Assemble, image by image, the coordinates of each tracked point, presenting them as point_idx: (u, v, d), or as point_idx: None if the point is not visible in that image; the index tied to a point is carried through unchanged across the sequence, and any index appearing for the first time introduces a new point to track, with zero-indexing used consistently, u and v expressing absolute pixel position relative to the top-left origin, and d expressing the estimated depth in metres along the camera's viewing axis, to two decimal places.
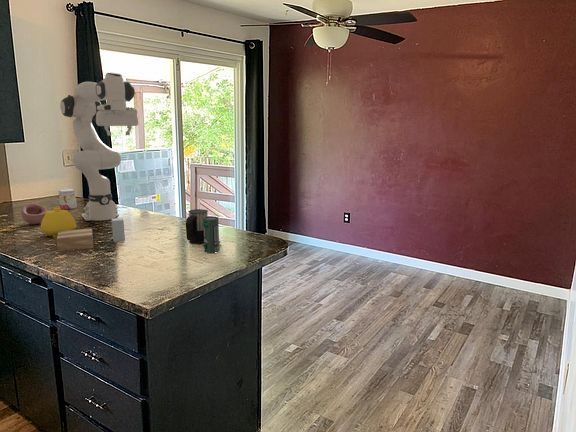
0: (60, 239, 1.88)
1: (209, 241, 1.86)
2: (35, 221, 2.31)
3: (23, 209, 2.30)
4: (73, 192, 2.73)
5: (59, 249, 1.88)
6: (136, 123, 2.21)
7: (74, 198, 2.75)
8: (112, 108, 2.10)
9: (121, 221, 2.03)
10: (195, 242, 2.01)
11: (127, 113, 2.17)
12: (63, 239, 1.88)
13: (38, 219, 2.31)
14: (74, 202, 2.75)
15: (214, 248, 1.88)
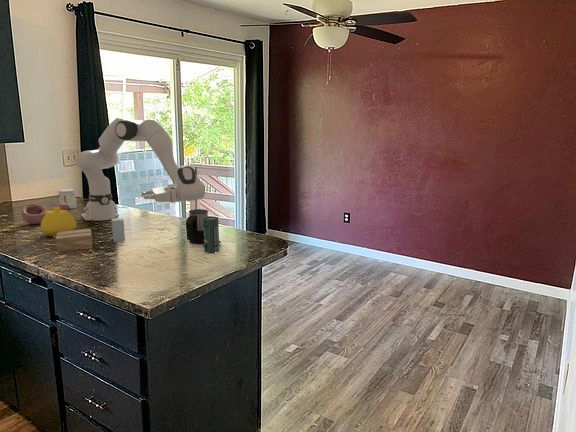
0: (59, 239, 1.87)
1: (209, 241, 1.86)
2: (35, 221, 2.31)
3: (23, 209, 2.30)
4: (73, 192, 2.73)
5: (58, 249, 1.88)
6: None
7: (74, 198, 2.75)
8: None
9: (121, 221, 2.03)
10: (195, 242, 2.01)
11: None
12: (62, 239, 1.88)
13: (38, 219, 2.31)
14: (74, 202, 2.75)
15: (214, 248, 1.88)
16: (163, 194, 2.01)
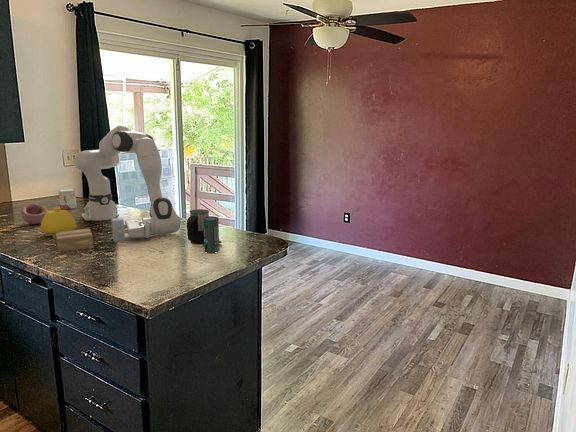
0: (60, 239, 1.87)
1: (209, 241, 1.86)
2: (35, 221, 2.31)
3: (23, 209, 2.30)
4: (73, 192, 2.73)
5: (59, 250, 1.88)
6: None
7: (74, 198, 2.75)
8: None
9: (121, 221, 2.03)
10: (196, 242, 2.01)
11: None
12: (63, 239, 1.88)
13: (38, 219, 2.31)
14: (74, 202, 2.75)
15: (214, 248, 1.88)
16: (136, 230, 2.00)
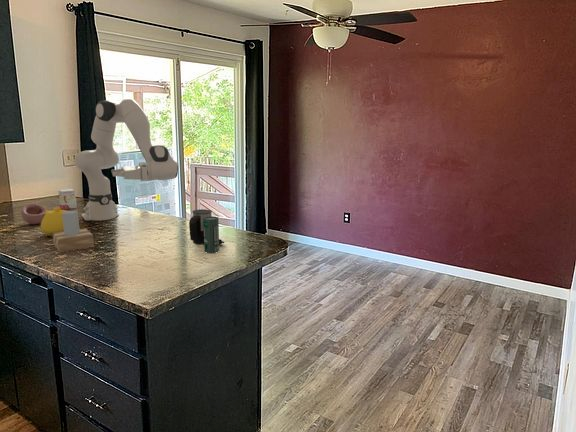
0: (62, 240, 1.87)
1: (209, 241, 1.86)
2: (35, 221, 2.31)
3: (23, 209, 2.30)
4: (73, 192, 2.73)
5: (61, 250, 1.87)
6: None
7: (74, 198, 2.75)
8: None
9: (72, 214, 1.91)
10: (199, 242, 2.01)
11: None
12: (65, 240, 1.88)
13: (38, 219, 2.31)
14: (74, 202, 2.75)
15: (214, 248, 1.88)
16: (133, 171, 1.94)
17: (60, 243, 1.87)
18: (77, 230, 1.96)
